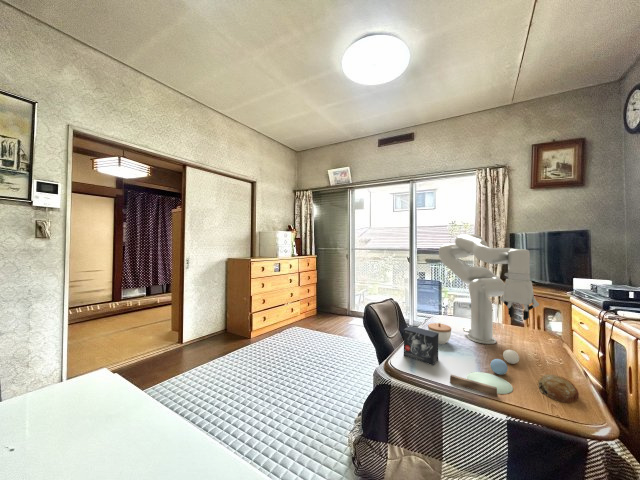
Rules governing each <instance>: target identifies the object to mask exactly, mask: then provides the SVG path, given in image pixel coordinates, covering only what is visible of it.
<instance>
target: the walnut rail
mask: <svg viewBox="0 0 640 480" xmlns="http://www.w3.org/2000/svg"><path fill="white" fill-rule="evenodd" d="M449 380H450V381H449V383H450V384H453V385H457V386H459V387H463V388H467V389H470V390H474V391H476V392H480V393H483V394H487V395H490V396H493V397H498V394H497V387H493V386H490V385H486V384H483V383H479V382H476V381H472V380H469V379H467V378H465V377H461V376H457V375H454V374H450V375H449Z"/></svg>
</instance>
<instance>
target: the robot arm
mask: <svg viewBox="0 0 640 480" xmlns="http://www.w3.org/2000/svg"><path fill="white" fill-rule="evenodd" d="M530 253H531V252H530V251H529V249H524V248H512V247H489V246H488V242H487V241H486V240H484V238H483V237H482V236H481V235H480V234H474V233H473V234H469V233H467V234H466V233H463V234H460V235H458V236H456V238H455V241H454V243H447V244H446V243H445V244H443V245H441V246H440V247H439V248H438V257H439V259H440V261H441V263H442V264H443V265H444V266H445V267H446V268H448V269H449V270H450V271H451V272H452V273H453V274H454V275H456V277H458V279H460V281H462V282H463V283H465V284H468V291H469V296H470V327H467V326H463V327H462V330H463V332H465V333H468V334H467V338H468V340H470V341H472V342H475V343H480V344H484V345H493V344H496V343H497V339H496V338H495V337H494V336H493V329H494V327H493V323H494V322H493V318H494V317H493V313H494V312H493V311H494V309H493V303H492V301H491V300H490V297H491V298H492V297H494V298H495V297H499V300H500V301H501V302H502V303H503V304H504V305H505V306H506V307H507V311H508V312H507V313H508V315H509V318H514V317H515V313H514V312H515V308H514V307H513V305H514V304H520V305H523V308H524V310H523V312H522V313H523V317H522V318H523V319H522V320H523V321H527V320H528V319H529V318H530V311H531V310H532V309H534V308H537V307H540V303H539V302H538V301H537V299H536V298H535V297H534V296H535V295H534V287H533V281H532V280H530V279H531V277H530V275H531V274H530V270H531V269H530V268H531V266H530V264H531V263H530V262H531V261H530V260H531V259H530V256H531V254H530ZM472 254H473V255H474V256H475V258H476V259H477V260H479V261H482V262H484V263H486V264H491V265H507V267H508V268H507V272H505V273H504V277H506V279H505V281H503V279H501V278H500V277H499V276H498V275H496V274H495V273H494V272H493V271H492V270H490V269H488V268H487V267H485V266H476V265H475V266H473V265H469V264H467V263H466V262H465V261H464V260H462V258H468V257H469V256H471V255H472Z"/></svg>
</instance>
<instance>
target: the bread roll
mask: <svg viewBox="0 0 640 480" xmlns="http://www.w3.org/2000/svg"><path fill="white" fill-rule="evenodd" d="M538 389H539V392H540V393H542V394H543V395H545V396H547V397H548V398H551V399H553V400H555V401H557V402H560V403H566V404H573V403H575V402H577V401H578V399H579V397H580V394H579V391H578V390H579V389H578V388H577V387H576V385H575V384H574V383H572V381H570V380H568V378H565V377H564V376H560V375H555V374H544V375H542V376H541V377H540V378H539V379H538Z"/></svg>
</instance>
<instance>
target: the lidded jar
mask: <svg viewBox="0 0 640 480" xmlns="http://www.w3.org/2000/svg"><path fill="white" fill-rule="evenodd" d="M427 327H428V328H427V330H429V331H433V332H437V333H439V335H438V345H445V344H447V342H449V340H450V339H451V335H452V327H451V326H449V325H447V324H444V323H441V322H438V323H437V322H435V323H434V322H432V323H428V325H427Z"/></svg>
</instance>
